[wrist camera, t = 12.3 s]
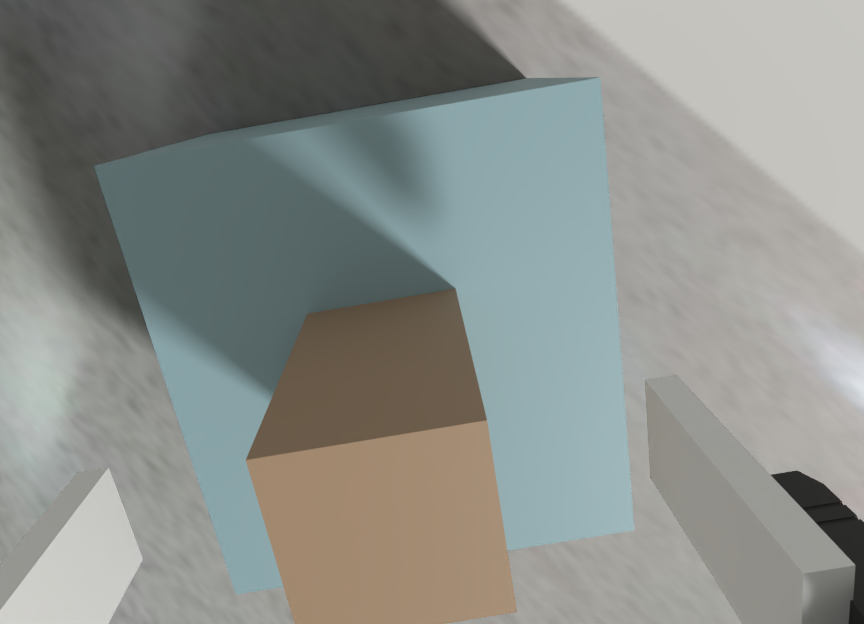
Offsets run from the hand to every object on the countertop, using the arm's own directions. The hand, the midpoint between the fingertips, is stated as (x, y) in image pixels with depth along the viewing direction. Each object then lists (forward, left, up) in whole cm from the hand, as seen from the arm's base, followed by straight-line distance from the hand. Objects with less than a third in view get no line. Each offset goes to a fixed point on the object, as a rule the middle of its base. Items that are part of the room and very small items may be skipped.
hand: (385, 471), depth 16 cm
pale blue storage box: (0, 0, -20) cm, 20 cm away
